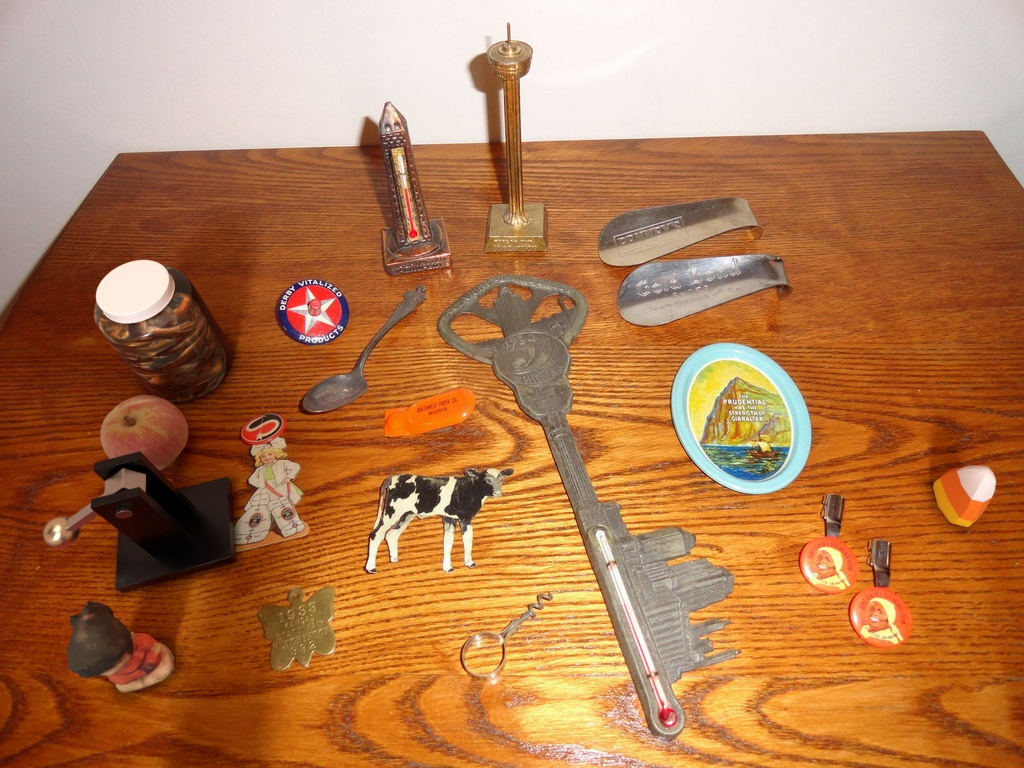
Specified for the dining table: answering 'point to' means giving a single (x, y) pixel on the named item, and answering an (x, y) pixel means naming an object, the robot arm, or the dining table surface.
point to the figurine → (115, 650)
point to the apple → (145, 430)
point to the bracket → (166, 524)
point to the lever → (89, 510)
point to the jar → (162, 330)
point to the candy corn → (964, 493)
